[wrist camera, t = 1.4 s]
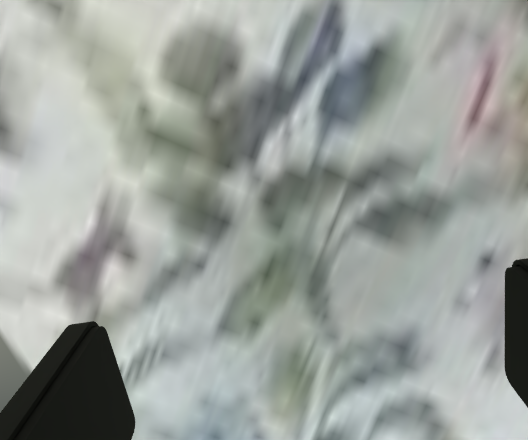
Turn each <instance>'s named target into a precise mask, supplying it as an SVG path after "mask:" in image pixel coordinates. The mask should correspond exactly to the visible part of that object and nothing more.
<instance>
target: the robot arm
mask: <svg viewBox="0 0 528 440" xmlns="http://www.w3.org/2000/svg"><path fill="white" fill-rule="evenodd" d="M505 372H506V376H507V379H508V381H509V383H510V384H511V386H512V387H513V388H514V390H515V391H516V392H517V394H518V395H519V396H520V398H521V399H522V400H523V402H524V403H525V404H526V406H527V407H528V258H527V259H520V260H515V261H514V262H513V265H512V267H510V268H507V269H506V272H505ZM134 429H135V417H134V413H133V410H132V407H131V404H130V401H129V398H128V395H127V392H126V389H125V386H124V383H123V380H122V376H121V373H120V370H119V367H118V364H117V361H116V358H115V355H114V352H113V349H112V346H111V343H110V340H109V337H108V334H107V331H106V329H105V328H104V327H103V326H100V327H99V326H98V324H97V323H96V322H94V321H93V322H86V323H79V324H72V325H69V326H68V327H67V328H66V329H65V330H64V332H63V333H62V334H61V335H60V337H59V338H58V339H57V341H56V342H55V343H54V344H53V346H52V347H51V348H50V350H49V351H48V352H47V353H46V355H45V356H44V357H43V359H42V360H41V361H40V362H39V364H38V365H37V366H36V368H35V369H34V370H33V371H32V373H31V374H30V375H29V377H28V378H27V379H26V380H25V382H24V383H23V384H22V386H21V387H20V388H19V389H18V391H17V392H16V393H15V395H14V396H13V397H12V399H11V400H10V401H9V402H8V404H7V405H6V406H5V408H4V409H3V410H2V411H1V413H0V440H131V439H132V436H133V433H134Z"/></svg>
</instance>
